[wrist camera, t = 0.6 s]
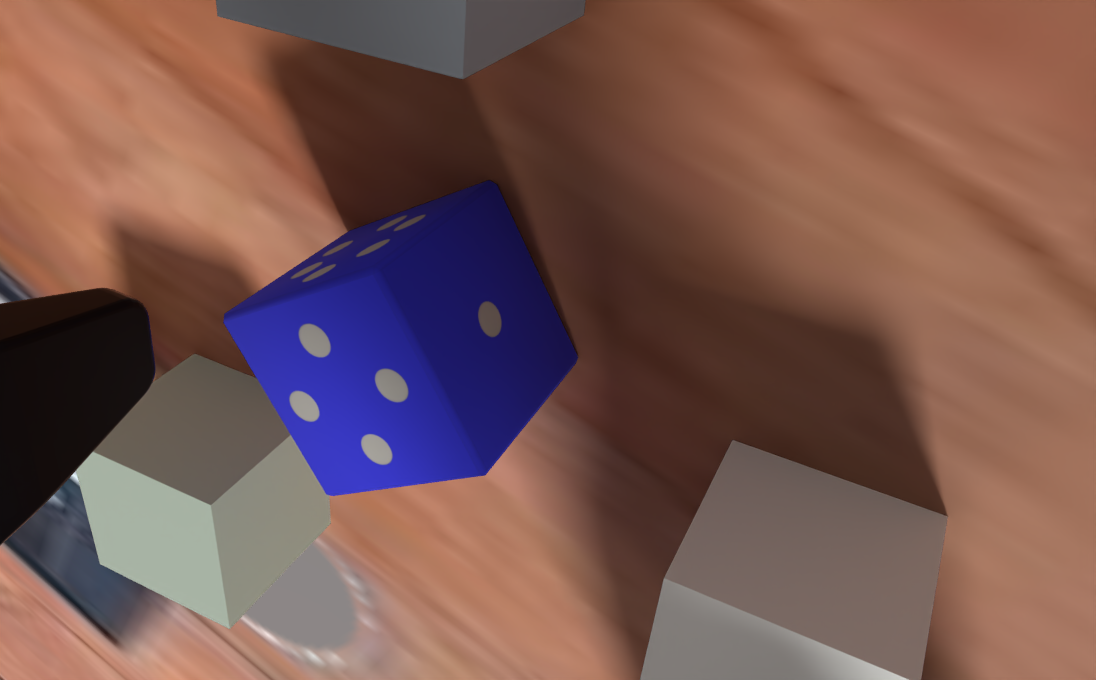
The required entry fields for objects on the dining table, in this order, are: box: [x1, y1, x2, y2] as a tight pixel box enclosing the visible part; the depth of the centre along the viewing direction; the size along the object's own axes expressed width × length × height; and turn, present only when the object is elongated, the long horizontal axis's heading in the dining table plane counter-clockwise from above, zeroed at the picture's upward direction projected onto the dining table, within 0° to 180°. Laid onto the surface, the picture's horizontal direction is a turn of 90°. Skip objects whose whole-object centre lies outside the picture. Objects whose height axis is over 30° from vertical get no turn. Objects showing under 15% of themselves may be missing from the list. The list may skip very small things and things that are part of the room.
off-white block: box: [640, 440, 948, 680], centre depth 21 cm, size 5×5×5 cm
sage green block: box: [76, 354, 331, 629], centre depth 29 cm, size 5×5×5 cm
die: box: [223, 180, 578, 496], centre depth 22 cm, size 5×5×5 cm
